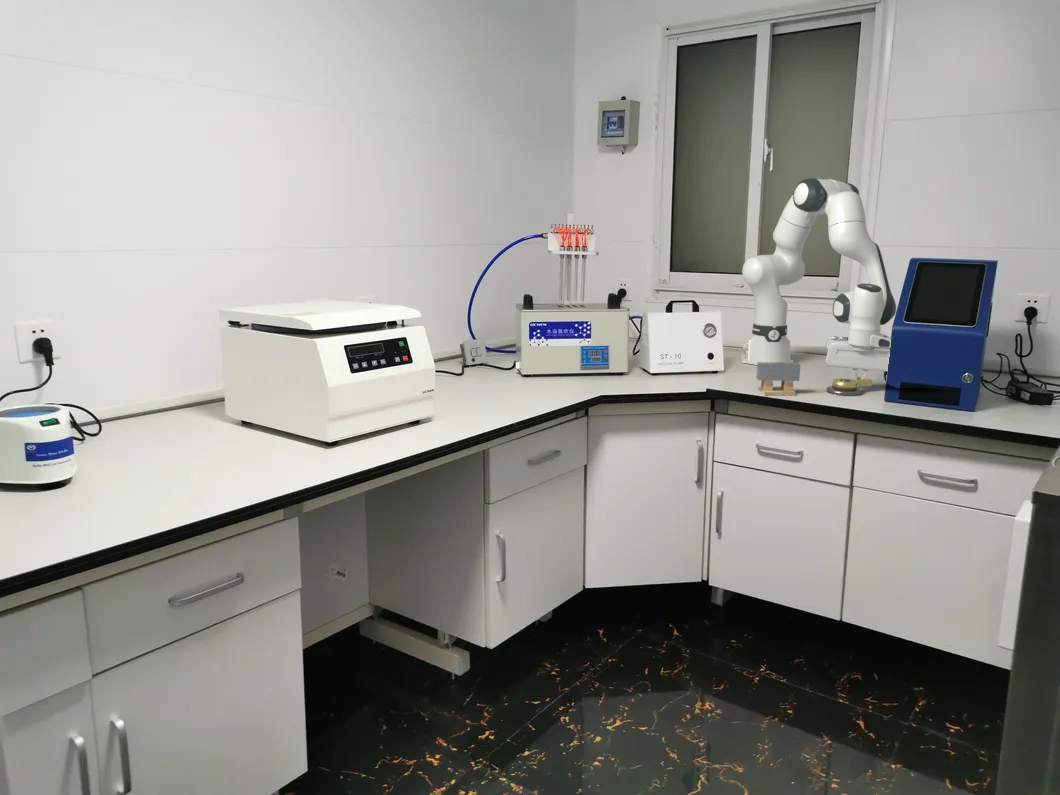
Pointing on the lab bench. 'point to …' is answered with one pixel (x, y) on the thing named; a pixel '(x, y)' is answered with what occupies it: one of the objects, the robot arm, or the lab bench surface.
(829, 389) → the nut base
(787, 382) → the rack
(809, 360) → the lab bench surface
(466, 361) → the electrical switch
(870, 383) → the gold curved piece
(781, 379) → the bar
